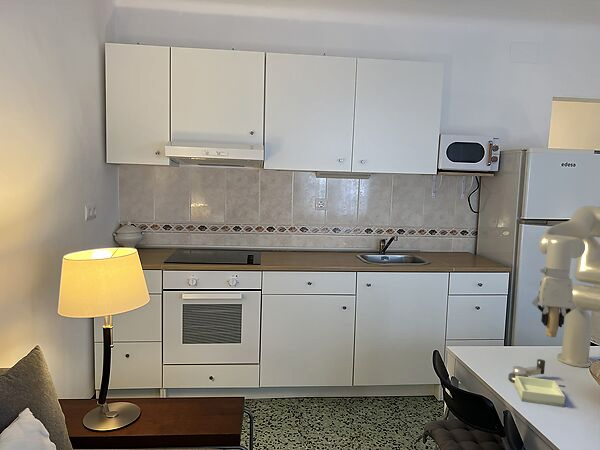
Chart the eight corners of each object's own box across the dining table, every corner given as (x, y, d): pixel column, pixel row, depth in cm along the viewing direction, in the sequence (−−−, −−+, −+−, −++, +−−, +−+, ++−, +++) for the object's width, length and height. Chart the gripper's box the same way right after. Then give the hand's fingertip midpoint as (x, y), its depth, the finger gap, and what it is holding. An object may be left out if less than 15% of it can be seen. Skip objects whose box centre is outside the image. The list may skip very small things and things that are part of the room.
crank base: (506, 375, 177) (507, 371, 176) (562, 382, 172) (562, 378, 172) (510, 383, 170) (510, 379, 170) (568, 390, 165) (568, 386, 165)
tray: (514, 385, 168) (515, 375, 168) (553, 390, 165) (554, 380, 165) (521, 401, 156) (522, 390, 156) (563, 406, 153) (564, 396, 153)
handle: (561, 339, 162) (565, 296, 161) (540, 336, 165) (544, 293, 164) (561, 336, 166) (565, 294, 165) (541, 332, 169) (544, 291, 168)
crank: (519, 379, 169) (520, 366, 169) (509, 374, 173) (510, 361, 173) (547, 375, 174) (548, 362, 174) (537, 370, 178) (539, 357, 178)
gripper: (533, 273, 162) (528, 325, 164) (587, 277, 158) (582, 331, 160) (528, 269, 169) (523, 319, 171) (580, 273, 165) (575, 325, 167)
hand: (552, 324), depth 165 cm, fingers closed on handle, 4 cm apart
